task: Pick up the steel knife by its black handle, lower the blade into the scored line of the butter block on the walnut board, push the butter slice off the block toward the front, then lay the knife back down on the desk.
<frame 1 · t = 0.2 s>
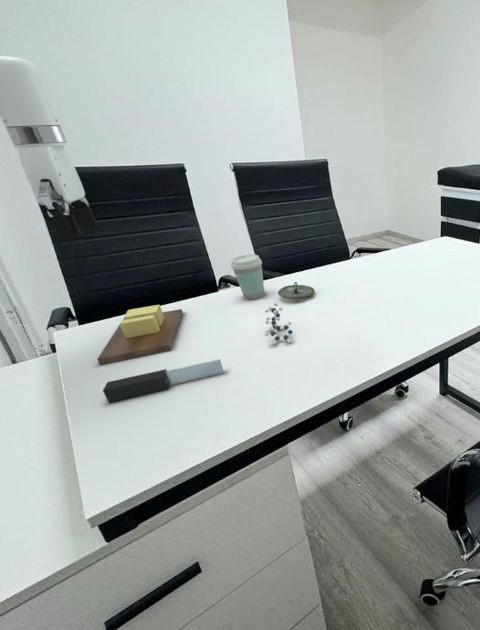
hand: (79, 231, 78), 28 cm above the table, tool pointing down, fingers open, 9 cm apart
coffee cup: (254, 296, 118), on the table
knife: (141, 391, 76), on the table
molecule model: (279, 335, 95), on the table
board: (146, 336, 97), on the table
lid: (297, 297, 116), on the table
butter slice: (143, 333, 95), point 1 cm above the table, touching board
butter block: (147, 324, 100), point 1 cm above the table, touching board
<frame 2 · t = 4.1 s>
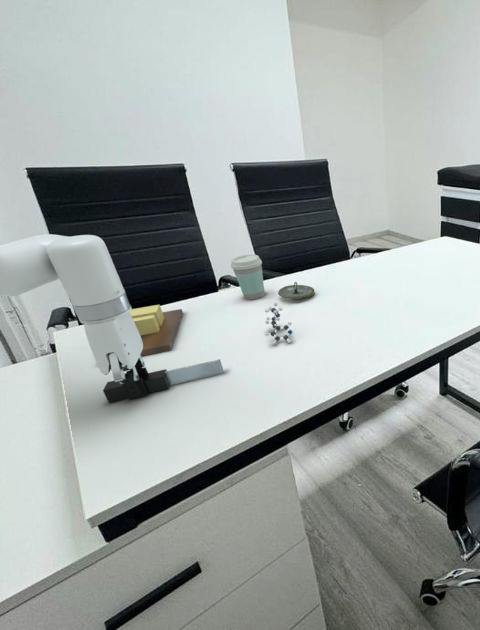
hand: (140, 390, 76), 0 cm above the table, tool pointing down, fingers closed on knife, 3 cm apart
knife: (141, 391, 76), on the table, touching gripper
everything else where it was.
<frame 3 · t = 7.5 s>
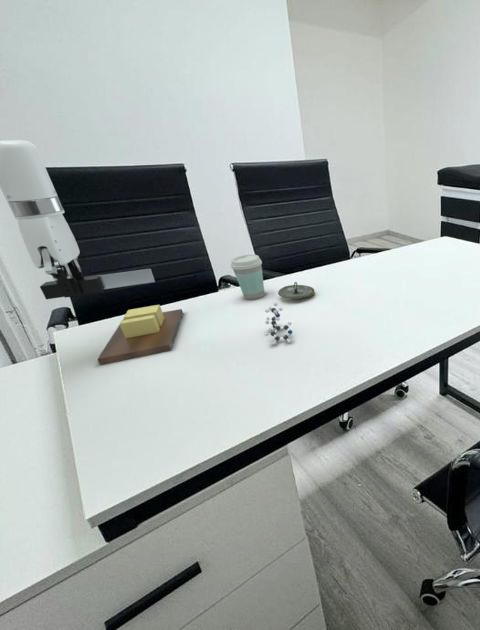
hand: (76, 292, 85), 15 cm above the table, tool pointing down, fingers closed on knife, 3 cm apart
knife: (77, 293, 85), point 15 cm above the table, touching gripper
everything else where it was.
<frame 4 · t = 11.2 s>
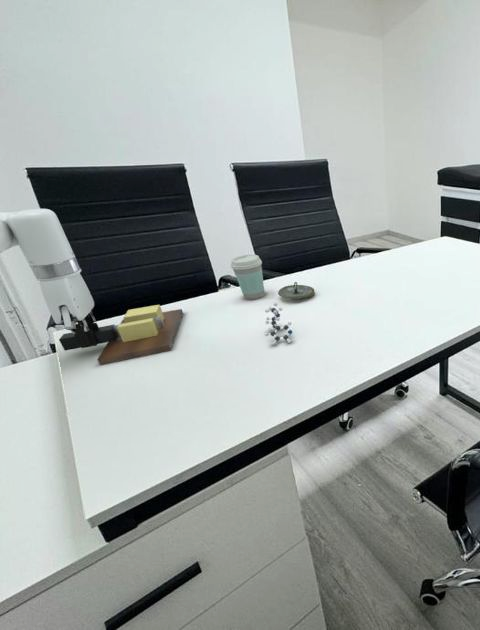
hand: (92, 342, 91), 2 cm above the table, tool pointing down, fingers closed on knife, 3 cm apart
knife: (92, 342, 91), point 2 cm above the table, touching butter slice, gripper
butter slice: (141, 337, 93), point 2 cm above the table, touching board, knife
everything else where it was.
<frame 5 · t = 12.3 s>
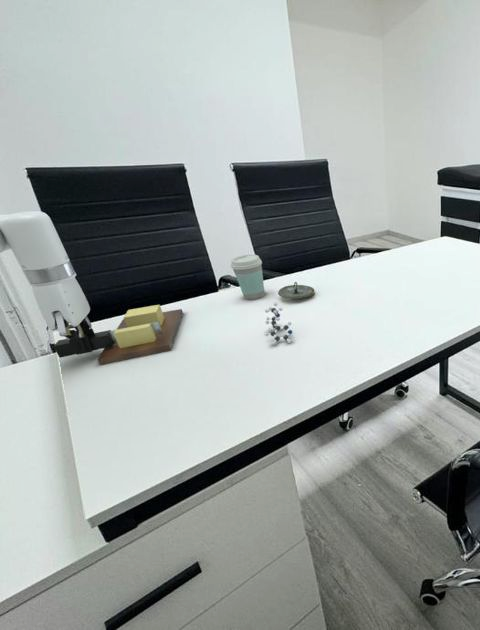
hand: (87, 348, 88), 2 cm above the table, tool pointing down, fingers closed on knife, 3 cm apart
knife: (88, 349, 88), point 2 cm above the table, touching butter slice, gripper
butter slice: (138, 343, 91), point 1 cm above the table, touching board, knife
everything else where it was.
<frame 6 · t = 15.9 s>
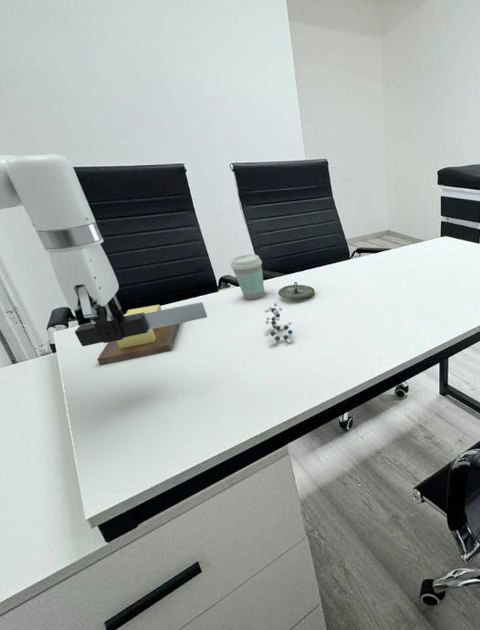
hand: (116, 335, 70), 13 cm above the table, tool pointing down, fingers closed on knife, 3 cm apart
knife: (117, 336, 71), point 12 cm above the table, touching gripper
butter slice: (138, 343, 91), point 1 cm above the table, touching board
everything else where it was.
when the fingers open (0 cm above the table, at t = 18.5 s): knife stays where it is, on the table.
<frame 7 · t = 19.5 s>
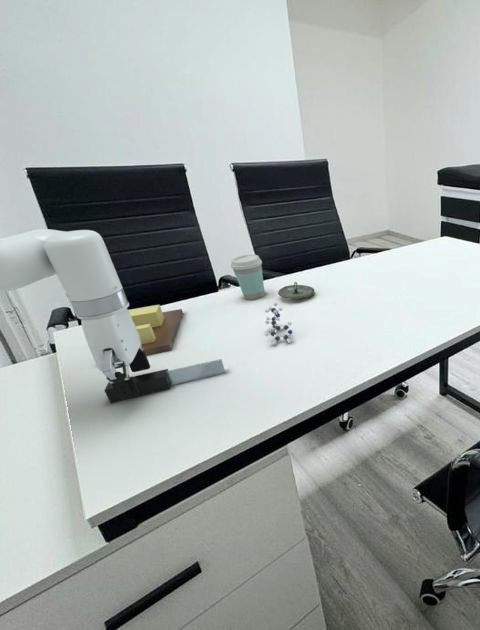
hand: (136, 382, 75), 2 cm above the table, tool pointing down, fingers open, 9 cm apart
knife: (142, 391, 76), on the table
everything else where it was.
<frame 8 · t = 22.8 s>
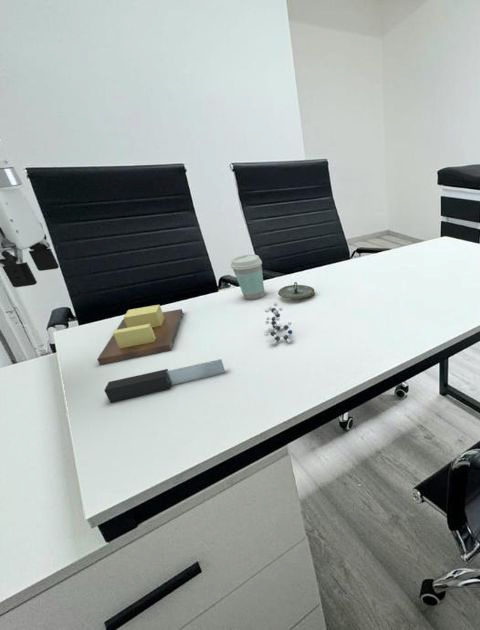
hand: (38, 277, 72), 22 cm above the table, tool pointing down, fingers open, 9 cm apart
nothing on the table moved.
at the end: butter slice moved 5.3 cm from its start; butter slice inside the target area on the table beside the butter block (1.2 cm from its centre), resting on board; knife inside the target area (0.2 cm from its centre), on the table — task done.
